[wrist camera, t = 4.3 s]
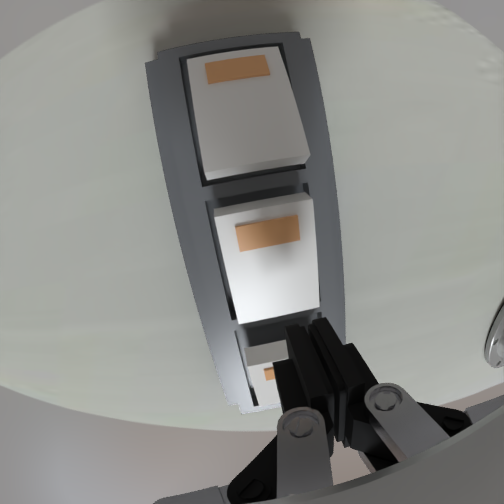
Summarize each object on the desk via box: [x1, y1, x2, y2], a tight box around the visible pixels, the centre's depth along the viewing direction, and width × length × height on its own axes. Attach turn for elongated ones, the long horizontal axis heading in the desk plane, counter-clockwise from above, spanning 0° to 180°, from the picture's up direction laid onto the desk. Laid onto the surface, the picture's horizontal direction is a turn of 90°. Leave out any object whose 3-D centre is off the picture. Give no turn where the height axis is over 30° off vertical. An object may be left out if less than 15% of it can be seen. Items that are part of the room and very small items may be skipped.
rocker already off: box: [244, 340, 289, 407], centre depth 17 cm, size 6×4×1 cm
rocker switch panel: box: [145, 32, 346, 414], centre depth 17 cm, size 23×9×4 cm, turn 10°
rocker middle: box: [214, 192, 320, 324], centre depth 15 cm, size 6×4×1 cm
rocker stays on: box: [187, 46, 310, 180], centre depth 12 cm, size 6×4×1 cm
